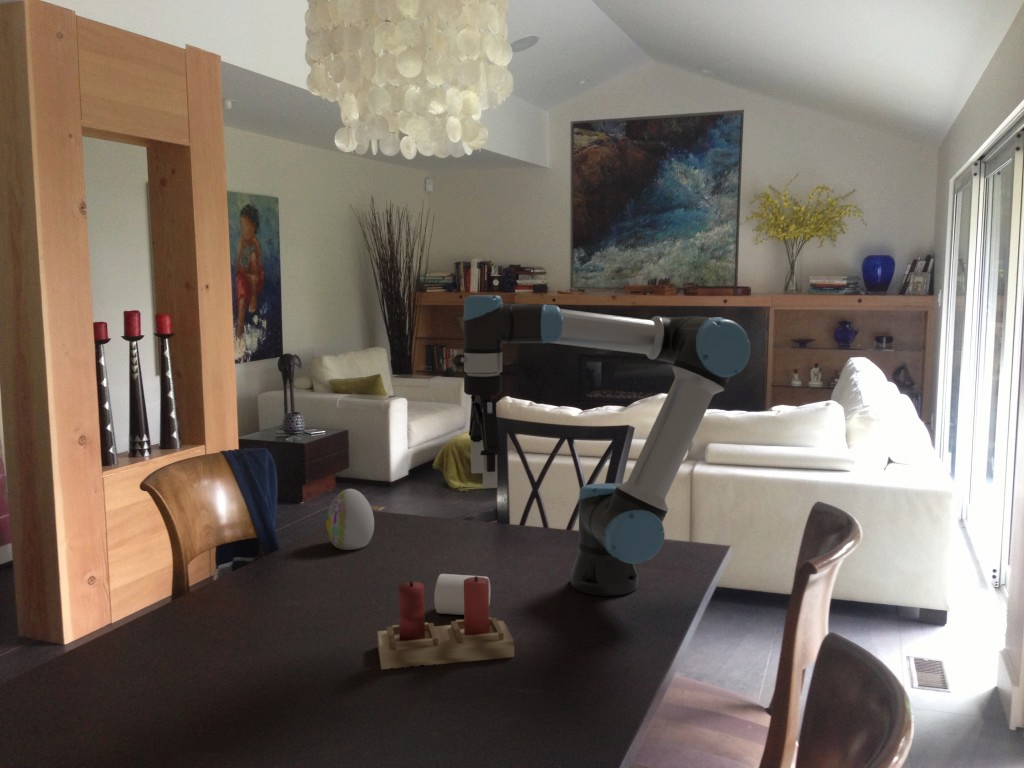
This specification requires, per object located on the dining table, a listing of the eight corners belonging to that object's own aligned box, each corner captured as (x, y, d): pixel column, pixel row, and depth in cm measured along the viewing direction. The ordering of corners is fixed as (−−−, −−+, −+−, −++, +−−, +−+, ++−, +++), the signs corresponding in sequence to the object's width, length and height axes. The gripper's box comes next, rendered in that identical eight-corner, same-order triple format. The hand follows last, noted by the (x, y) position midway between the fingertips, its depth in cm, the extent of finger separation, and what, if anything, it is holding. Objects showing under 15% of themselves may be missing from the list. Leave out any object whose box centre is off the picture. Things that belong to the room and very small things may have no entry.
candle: (486, 627, 164) (486, 572, 163) (491, 636, 160) (490, 579, 158) (462, 629, 163) (461, 573, 162) (466, 639, 159) (465, 581, 158)
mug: (482, 622, 175) (481, 584, 174) (434, 619, 177) (433, 581, 176) (495, 601, 186) (494, 565, 185) (450, 598, 188) (449, 562, 187)
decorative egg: (326, 540, 231) (324, 485, 229) (372, 537, 234) (371, 482, 232) (327, 554, 219) (326, 496, 217) (376, 550, 222) (375, 493, 220)
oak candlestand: (503, 635, 168) (502, 566, 166) (514, 657, 158) (514, 583, 157) (377, 646, 163) (376, 575, 161) (381, 669, 153) (379, 593, 152)
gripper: (454, 368, 182) (455, 468, 184) (474, 381, 158) (475, 495, 160) (490, 367, 183) (490, 466, 186) (515, 380, 159) (515, 493, 162)
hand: (483, 480), depth 173 cm, fingers open, 13 cm apart
